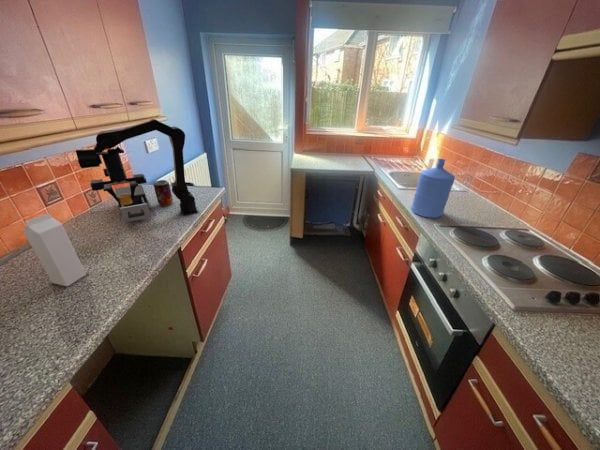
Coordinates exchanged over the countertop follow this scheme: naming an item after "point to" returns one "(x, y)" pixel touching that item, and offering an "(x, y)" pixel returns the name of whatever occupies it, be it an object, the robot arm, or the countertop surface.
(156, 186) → the red food can
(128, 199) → the coffee pod
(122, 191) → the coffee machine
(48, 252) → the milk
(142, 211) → the drawer
